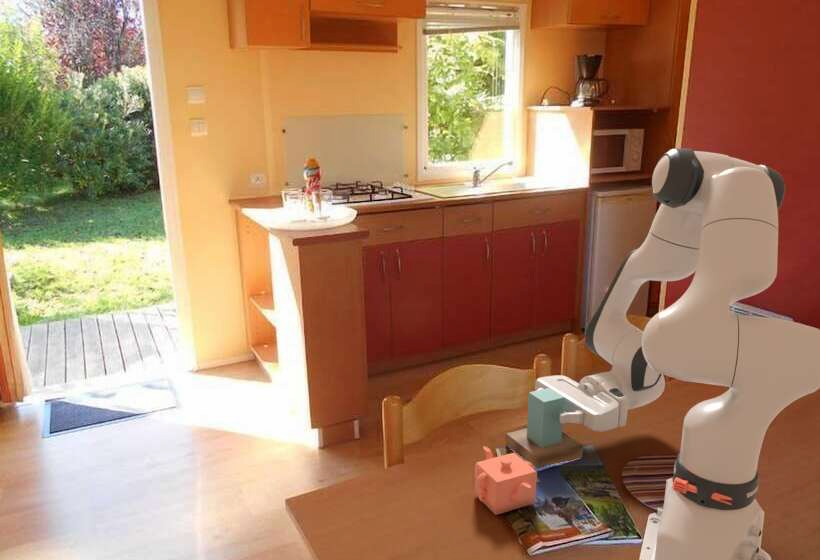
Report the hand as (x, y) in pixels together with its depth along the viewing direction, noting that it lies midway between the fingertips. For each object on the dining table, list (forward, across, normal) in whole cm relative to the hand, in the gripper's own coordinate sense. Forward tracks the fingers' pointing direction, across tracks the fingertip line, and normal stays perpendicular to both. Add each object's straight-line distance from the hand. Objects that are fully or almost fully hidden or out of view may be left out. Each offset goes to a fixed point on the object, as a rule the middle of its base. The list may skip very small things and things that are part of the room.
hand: (544, 408), depth 130 cm
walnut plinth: (0, 0, +10) cm, 10 cm away
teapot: (+16, +11, +10) cm, 22 cm away
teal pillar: (0, 0, +7) cm, 7 cm away
